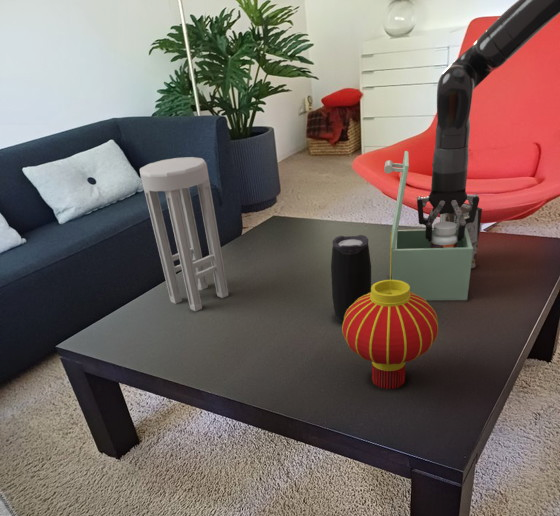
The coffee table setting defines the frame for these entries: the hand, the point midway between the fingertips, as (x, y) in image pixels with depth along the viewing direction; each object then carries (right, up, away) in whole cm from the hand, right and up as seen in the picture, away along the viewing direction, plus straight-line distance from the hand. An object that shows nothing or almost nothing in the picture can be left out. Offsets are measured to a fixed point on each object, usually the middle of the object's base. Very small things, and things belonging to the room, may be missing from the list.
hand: (444, 239), depth 125 cm
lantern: (-18, -34, -23) cm, 45 cm away
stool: (-61, -12, +17) cm, 65 cm away
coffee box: (+9, -3, +18) cm, 21 cm away
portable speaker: (-22, -19, -1) cm, 30 cm away
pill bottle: (+1, -7, +4) cm, 8 cm away
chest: (-2, -11, +8) cm, 13 cm away
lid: (-11, +9, -3) cm, 14 cm away
